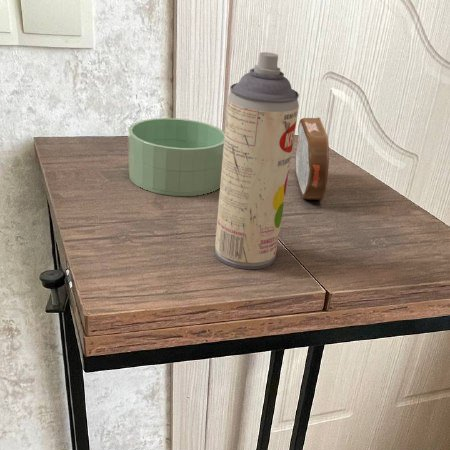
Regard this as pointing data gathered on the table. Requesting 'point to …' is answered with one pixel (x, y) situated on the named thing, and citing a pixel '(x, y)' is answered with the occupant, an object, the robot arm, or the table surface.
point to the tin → (312, 158)
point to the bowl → (175, 156)
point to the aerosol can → (255, 165)
